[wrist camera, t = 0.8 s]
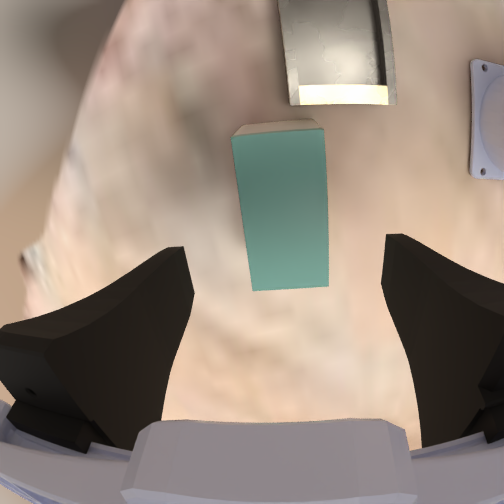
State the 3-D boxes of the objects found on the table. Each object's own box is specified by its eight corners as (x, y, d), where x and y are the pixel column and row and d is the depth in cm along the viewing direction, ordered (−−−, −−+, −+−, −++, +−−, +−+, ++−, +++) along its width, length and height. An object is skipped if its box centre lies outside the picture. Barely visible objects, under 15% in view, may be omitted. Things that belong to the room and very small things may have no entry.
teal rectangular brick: (312, 118, 17) (323, 129, 13) (319, 242, 21) (328, 286, 17) (243, 124, 18) (230, 137, 13) (258, 246, 21) (252, 291, 17)
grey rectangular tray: (361, -59, 11) (370, -73, 9) (384, 102, 16) (396, 104, 14) (267, -60, 12) (265, -76, 10) (289, 103, 17) (290, 105, 15)
